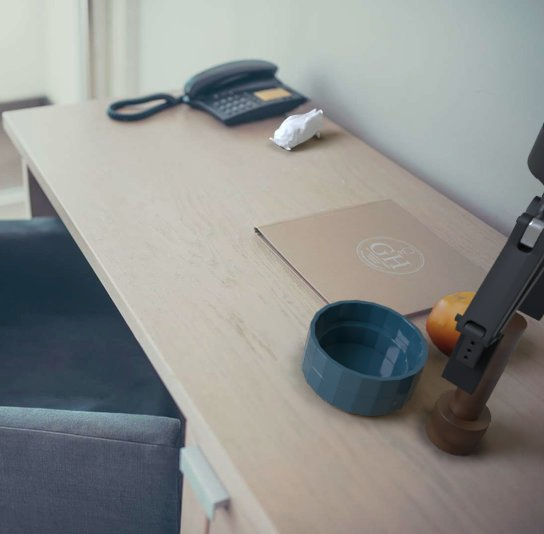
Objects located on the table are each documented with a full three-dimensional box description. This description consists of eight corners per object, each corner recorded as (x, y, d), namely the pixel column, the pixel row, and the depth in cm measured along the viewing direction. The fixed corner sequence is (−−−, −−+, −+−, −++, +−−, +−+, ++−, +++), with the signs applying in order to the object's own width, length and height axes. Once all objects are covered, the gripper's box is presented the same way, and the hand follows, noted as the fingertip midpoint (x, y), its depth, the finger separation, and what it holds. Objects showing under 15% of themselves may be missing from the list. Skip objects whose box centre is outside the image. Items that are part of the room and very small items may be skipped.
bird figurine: (293, 135, 121) (265, 139, 114) (310, 102, 117) (282, 104, 110) (314, 148, 119) (286, 154, 111) (332, 115, 115) (304, 119, 108)
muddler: (486, 437, 65) (551, 321, 55) (463, 464, 62) (527, 348, 53) (440, 407, 68) (494, 292, 58) (416, 433, 65) (468, 317, 55)
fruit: (492, 381, 69) (477, 313, 67) (424, 370, 76) (409, 308, 74) (526, 347, 73) (514, 283, 72) (460, 340, 80) (446, 281, 78)
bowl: (432, 380, 71) (449, 341, 67) (373, 439, 65) (388, 400, 61) (340, 323, 78) (351, 285, 74) (278, 372, 72) (287, 333, 68)
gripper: (610, 70, 53) (512, 269, 67) (469, 166, 40) (381, 391, 53) (717, 99, 49) (589, 306, 62) (598, 219, 36) (468, 449, 49)
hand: (493, 346), depth 58 cm, fingers open, 13 cm apart
